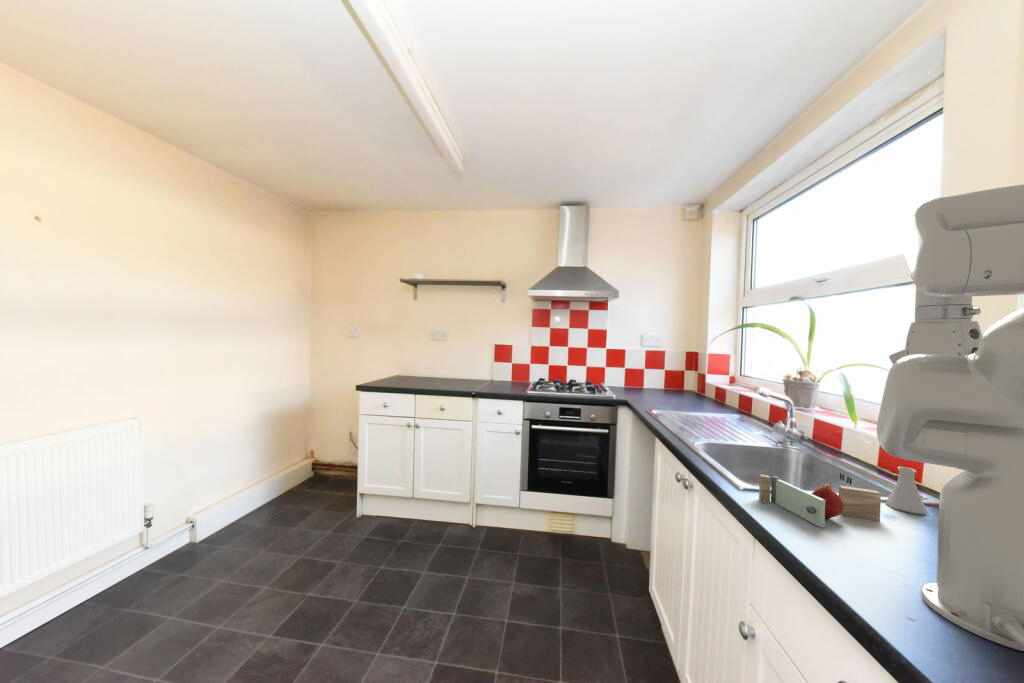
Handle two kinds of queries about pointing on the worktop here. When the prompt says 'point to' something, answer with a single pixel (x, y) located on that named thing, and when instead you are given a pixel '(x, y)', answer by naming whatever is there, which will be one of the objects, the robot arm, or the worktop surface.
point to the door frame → (853, 499)
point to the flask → (906, 493)
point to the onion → (830, 501)
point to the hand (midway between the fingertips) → (939, 397)
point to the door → (798, 501)
